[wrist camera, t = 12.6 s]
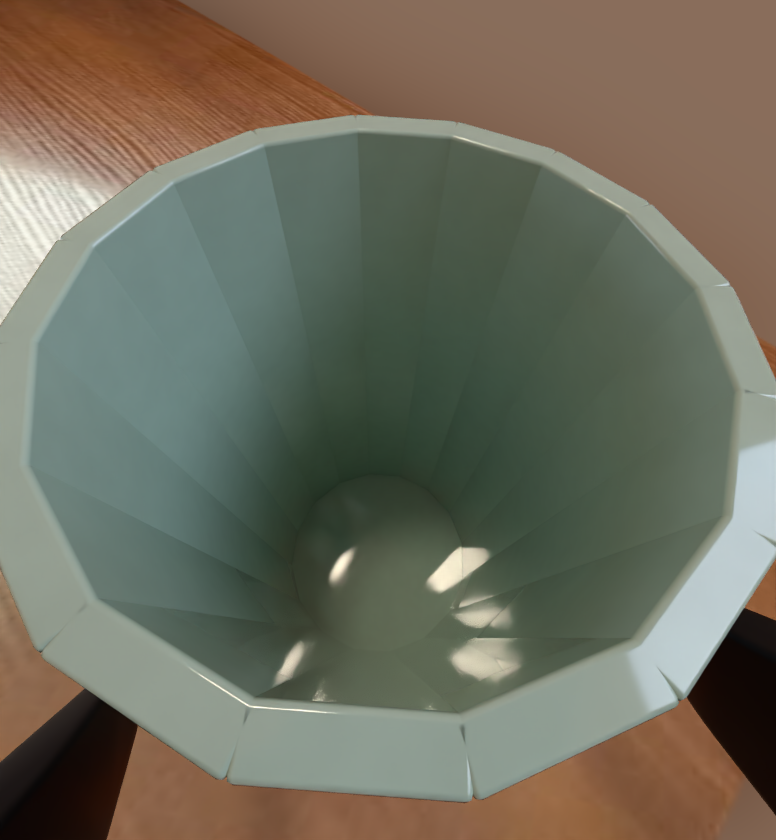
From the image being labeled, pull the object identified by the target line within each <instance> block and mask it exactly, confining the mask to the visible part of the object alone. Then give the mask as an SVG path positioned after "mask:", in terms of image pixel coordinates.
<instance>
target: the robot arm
mask: <svg viewBox="0 0 776 840" xmlns="http://www.w3.org/2000/svg"><path fill="white" fill-rule="evenodd" d="M687 699H688V700H689V702H690V703H691V705H692V706H693V707H694V709H695V710H696V712H697V713H698V715H699V716H700V718H701V719H702V720H703V722H704V723H705V724H706V726H707V727H708V728H709V730H710V731H711V732H712V734H713V735H714V736H715V738H716V739H717V740H718V742H719V743H720V744H721V745H722V747H723V748H724V749H725V751H726V752H727V753H728V755H729V756H730V757H731V758H732V760H733V761H734V762H735V764H736V765H737V766H738V767H739V769H740V770H741V771H742V773H743V774H744V775H745V776H746V778H747V779H748V780H749V782H750V783H751V784H752V785H753V787H754V788H755V789H756V791H757V792H758V793H759V794H760V796H761V797H762V798H763V800H764V801H765V802H766V803H767V804H768V806H769V807H770V808H771V810H772V811H773V812H774V814H775V815H776V621H775V620H773V619H770V618H768V617H766V616H763V615H761V614H758V613H756V612H753V611H751V610H748V609H746V608H744V609H743V610H742V612H741V613H740V615H739V616H738V618H737V620H736V621H735V623H734V624H733V626H732V627H731V629H730V630H729V632H728V634H727V635H726V637H725V638H724V640H723V641H722V643H721V644H720V646H719V648H718V649H717V651H716V652H715V654H714V655H713V657H712V659H711V660H710V662H709V663H708V665H707V666H706V668H705V669H704V671H703V673H702V674H701V676H700V677H699V679H698V680H697V682H696V683H695V685H694V687H693V688H692V690H691V691H690V693H689V694H688V696H687ZM137 726H138V725H137V724H135V723H134V722H133V721H131V720H130V719H128V718H127V717H125V716H124V715H122V714H121V713H120V712H118V711H117V710H115V709H114V708H112V707H111V706H109V705H108V704H106V703H105V702H104V701H102V700H101V699H99V698H98V697H96V696H95V695H93V694H92V693H91V692H89V691H88V690H86V689H84V690H83V691H82V692H80V693H79V694H78V695H77V696H76V697H75V698H74V699H72V700H71V701H70V702H69V703H68V704H67V705H66V706H64V707H63V708H62V709H61V710H60V711H59V712H57V713H56V714H55V715H54V716H53V717H52V718H51V719H49V720H48V721H47V722H46V723H45V724H44V725H43V726H41V727H40V728H39V729H38V730H37V731H36V732H34V733H33V734H32V735H31V736H30V737H29V738H28V739H26V740H25V741H24V742H23V743H22V744H21V745H19V746H18V747H17V748H16V749H15V750H14V751H13V752H11V753H10V754H9V755H8V756H7V757H6V758H5V759H3V760H2V761H1V762H0V840H107V836H108V833H109V829H110V826H111V822H112V819H113V815H114V811H115V808H116V804H117V801H118V797H119V793H120V790H121V786H122V783H123V779H124V775H125V772H126V768H127V765H128V761H129V757H130V754H131V750H132V746H133V743H134V739H135V736H136V732H137Z"/></svg>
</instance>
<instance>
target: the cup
mask: <svg viewBox="0 0 776 840" xmlns="http://www.w3.org/2000/svg"><path fill="white" fill-rule="evenodd" d="M775 559H776V379H775V377H774V375H773V372H772V370H771V368H770V366H769V364H768V361H767V359H766V357H765V355H764V353H763V351H762V348H761V346H760V344H759V342H758V340H757V337H756V335H755V333H754V331H753V329H752V327H751V324H750V322H749V320H748V318H747V316H746V314H745V311H744V309H743V307H742V305H741V303H740V301H739V298H738V296H737V294H736V292H735V290H734V288H732V287H731V286H730V283H729V281H728V280H727V279H726V278H725V277H724V276H723V275H722V274H721V273H720V272H719V271H718V270H717V269H716V268H715V267H714V266H713V265H712V264H711V263H710V262H709V261H708V260H707V259H706V258H705V257H704V256H703V255H702V254H701V253H700V252H699V251H698V250H697V249H696V248H695V247H694V246H693V245H692V244H691V243H690V242H689V241H688V240H687V239H686V238H685V237H684V236H683V235H682V234H681V233H680V232H679V231H678V230H677V229H676V228H675V227H674V226H673V225H672V224H671V223H670V222H669V221H668V220H667V219H666V218H665V217H664V216H663V215H662V214H661V213H660V212H659V211H658V210H657V209H656V208H655V207H654V206H653V205H649V203H648V201H646V200H644V199H642V198H641V197H639V196H637V195H635V194H633V193H632V192H630V191H628V190H627V189H625V188H623V187H621V186H619V185H618V184H616V183H614V182H612V181H611V180H609V179H607V178H605V177H604V176H601V175H600V174H598V173H596V172H595V171H593V170H591V169H589V168H588V167H586V166H584V165H582V164H580V163H579V162H577V161H575V160H573V159H571V158H570V157H568V156H566V155H564V154H563V153H561V152H555V150H554V149H551V148H547V147H544V146H540V145H537V144H533V143H530V142H526V141H523V140H520V139H516V138H513V137H509V136H506V135H502V134H499V133H495V132H492V131H488V130H485V129H481V128H477V127H475V126H471V125H468V124H464V123H461V122H460V123H457V124H456V122H454V121H441V120H428V119H412V118H398V117H397V118H396V117H382V116H368V115H356V116H353V115H348V116H341V117H335V118H328V119H321V120H314V121H307V122H300V123H293V124H286V125H279V126H272V127H266V128H259V129H255V130H254V131H247V132H244V133H242V134H239V135H237V136H234V137H231V138H229V139H226V140H224V141H221V142H219V143H216V144H214V145H211V146H208V147H206V148H203V149H201V150H198V151H196V152H193V153H191V154H188V155H185V156H183V157H180V158H178V159H175V160H173V161H170V162H168V163H165V164H162V165H160V166H157V167H155V168H154V169H153V170H151V171H148V172H146V173H145V174H144V175H142V176H141V177H140V178H138V179H137V180H135V181H134V182H133V183H131V184H130V185H129V186H127V187H126V188H125V189H123V190H122V191H121V192H119V193H118V194H117V195H115V196H114V197H113V198H111V199H110V200H109V201H107V202H106V203H105V204H103V205H102V206H101V207H99V208H98V209H97V210H95V211H94V212H93V213H91V214H90V215H89V216H87V217H86V218H85V219H83V220H82V221H81V222H79V223H78V224H77V225H75V226H74V227H73V228H71V229H70V230H69V231H67V232H66V233H65V234H63V235H62V236H61V240H58V241H56V242H55V244H54V245H53V247H52V248H51V250H50V251H49V253H48V254H47V256H46V257H45V259H44V260H43V262H42V263H41V265H40V266H39V268H38V269H37V271H36V272H35V274H34V275H33V277H32V278H31V280H30V281H29V283H28V284H27V286H26V287H25V289H24V290H23V292H22V293H21V295H20V296H19V298H18V299H17V301H16V302H15V304H14V305H13V307H12V308H11V310H10V311H9V313H8V314H7V316H6V317H5V319H4V320H3V322H2V323H1V325H0V569H1V572H2V574H3V576H4V579H5V581H6V583H7V586H8V588H9V590H10V593H11V595H12V597H13V600H14V602H15V604H16V607H17V609H18V611H19V614H20V616H21V618H22V621H23V623H24V626H25V628H26V630H27V633H28V635H29V637H30V640H31V642H32V644H33V647H34V648H35V649H36V650H37V651H39V652H40V653H41V656H42V658H43V659H44V660H45V661H46V662H47V663H49V664H50V665H52V666H53V667H54V668H56V669H57V670H59V671H60V672H62V673H63V674H65V675H66V676H67V677H69V678H70V679H72V680H73V681H75V682H76V683H78V684H79V685H80V686H82V687H83V688H85V689H86V690H88V691H89V692H91V693H92V694H93V695H95V696H96V697H98V698H99V699H101V700H102V701H104V702H105V703H106V704H108V705H109V706H111V707H112V708H114V709H115V710H117V711H118V712H120V713H121V714H122V715H124V716H125V717H127V718H128V719H130V720H131V721H133V722H134V723H135V724H137V725H138V726H140V727H141V728H143V729H144V730H146V731H147V732H148V733H150V734H151V735H153V736H154V737H156V738H157V739H159V740H160V741H161V742H163V743H164V744H166V745H167V746H169V747H170V748H172V749H173V750H174V751H176V752H177V753H179V754H180V755H182V756H183V757H185V758H186V759H187V760H189V761H190V762H192V763H193V764H195V765H196V766H198V767H199V768H200V769H202V770H203V771H205V772H206V773H208V774H209V775H211V776H212V777H213V778H215V779H218V780H224V779H225V778H226V777H227V782H229V783H230V784H232V785H236V786H249V787H262V788H275V789H288V790H301V791H314V792H327V793H340V794H353V795H366V796H379V797H392V798H405V799H418V800H431V801H444V802H457V803H466V802H469V801H471V800H472V797H473V796H474V798H475V799H477V800H484V799H486V798H488V797H490V796H492V795H494V794H496V793H498V792H500V791H502V790H504V789H507V788H509V787H511V786H513V785H515V784H517V783H519V782H521V781H523V780H525V779H527V778H530V777H532V776H534V775H536V774H538V773H540V772H542V771H544V770H546V769H548V768H550V767H553V766H555V765H557V764H559V763H561V762H563V761H565V760H567V759H569V758H571V757H573V756H576V755H578V754H580V753H582V752H584V751H586V750H588V749H590V748H592V747H594V746H596V745H599V744H601V743H603V742H605V741H607V740H609V739H611V738H613V737H615V736H617V735H619V734H622V733H624V732H626V731H628V730H630V729H632V728H634V727H636V726H638V725H640V724H642V723H644V722H647V721H649V720H651V719H653V718H655V717H657V716H659V715H661V714H663V713H665V712H667V711H670V710H672V709H674V708H675V707H676V706H677V705H678V704H679V702H678V701H681V700H683V699H685V698H686V697H687V696H688V694H689V693H690V691H691V690H692V688H693V687H694V685H695V683H696V682H697V680H698V679H699V677H700V676H701V674H702V673H703V671H704V669H705V668H706V666H707V665H708V663H709V662H710V660H711V659H712V657H713V655H714V654H715V652H716V651H717V649H718V648H719V646H720V644H721V643H722V641H723V640H724V638H725V637H726V635H727V634H728V632H729V630H730V629H731V627H732V626H733V624H734V623H735V621H736V620H737V618H738V616H739V615H740V613H741V612H742V610H743V609H744V607H745V606H746V604H747V602H748V601H749V599H750V598H751V596H752V595H753V593H754V592H755V590H756V588H757V587H758V585H759V584H760V582H761V581H762V579H763V578H764V576H765V574H766V573H767V571H768V570H769V568H770V567H771V565H772V564H773V562H774V560H775Z"/></svg>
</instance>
